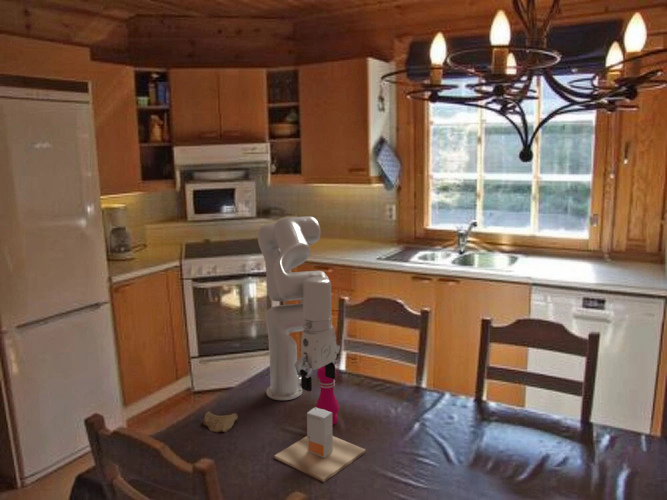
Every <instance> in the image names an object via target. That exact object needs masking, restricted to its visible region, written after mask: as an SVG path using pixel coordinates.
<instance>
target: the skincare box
mask: <svg viewBox="0 0 667 500" xmlns="http://www.w3.org/2000/svg"><path fill="white" fill-rule="evenodd" d="M333 431H334V430H333V425H332V412H329V411H326V410H324V409H319V408H316V406H315V407H313V408H311V409H310V410H309V411H308V412H306V433H307V434H306V436H307V447H308V452H310V453H313V454H315V455H318V456H321V457H323V458H326V457H327V456H328V455H329V454H330V453H331V452H333V436H334V435H333Z"/></svg>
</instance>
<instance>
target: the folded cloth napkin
mask: <svg viewBox="0 0 667 500" xmlns="http://www.w3.org/2000/svg"><path fill="white" fill-rule="evenodd" d="M366 452H367V450H366V448H363V447H360V446H358V445H356V444H353V443H351V442H348V441H346V440H344V439H341V438H339V437H336V436H334V435H333V452H331V453H330V454H329V455H328V456H327V457H326V458H323V457H321V456H318V455H315V454H313V453H310V452H308V447H307V435H306V436H304V437H303V438H301V439H300V440H297V441H296V442H294V443H293V444H291V445H290V446H288V447H287V448H284V449H282V451H279V452H277V453H276V454H274V459H276V460H278V461H279V462H282V463H284V464H286V465H288V466H290V467H292V468H294V469H296V470H298V471H300V472H302V473H304V474H306V475H308V476H310V477H312V478H315V479H316V480H319V481H321V482H322V483H325V482H326V481H327V480H329V479H330V478H331V477H334V476H335V475H336V474H338V473H339V472H340V471H342V470H343V469H344V468H346V467H347V466H348V465H350V464H351V463H353V462H354V461H355V460H357V459H358V458H360V457H361V456H363V455H364V454H366Z"/></svg>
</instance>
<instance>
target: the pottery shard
mask: <svg viewBox="0 0 667 500" xmlns="http://www.w3.org/2000/svg"><path fill="white" fill-rule="evenodd" d="M238 418H239V416H238V414H237V413H234V412H233V413H232V414H228V415H226V414H225V415H217V414H214V413H212V412H211V411H207V412H206V413H205V414H204V417H203V420H202V424H203V425H204V426H206V427H207V428H208V430H210V432H215V433H221V432H223V433H227V432H228V431H230V430H231V429H232V427H233V426H234V423H235V421H237V420H238Z"/></svg>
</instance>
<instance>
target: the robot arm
mask: <svg viewBox="0 0 667 500" xmlns="http://www.w3.org/2000/svg"><path fill="white" fill-rule="evenodd" d="M321 233H322V232H321V226H320V224H319V221H318V220H317V218H316V217H314V216H311V215H309V216H306V215H305V216H290V217H283V218H280V219H279V220H277V221H275V222H274V223H268V224H264V225H261V226H260V227H259V228H258V230H257V243H258V246H259V249H260V251H261V253H262V256H263V260H264V262H265V274H266V275H265V276H266V286H267V287H266V288H267V294H268V297H269V299H270V300H271V301H272V302H288V301H298V300H299V301H300V303H299V302H298V303H292V304H290V303H288V304H282V305H275V306H272V307H270V308H269V309H267V310H266V312H265V315H264V318H265V325H266V326H265V327H266V331H267V337H268V352H269V356H268V357H269V376H270V378H269V379H270V381H269V382H270V386H268V387H267V389H266V390H265V392H266V396H267V397H268V398H269V399H272V400H275V401H289V400H294V399H297V398H299V397H301V395H302V393H303V390H304V391H306V392H311V391H312V390H313V389H312V383H313V382H312V380H313V379H312V376H311V374H312V373H313V370H314V371H315V370H318V369H319V368H321V367H323V366H325V376H326V377H328V378H331V379H334V380H335V379H336V378H335V369H336V365H337V359H338V357H339V355H340V353H339V352H340V350H341V346H340V345H339V344H337V339H336V334H335V333H336V332H335V327H334V325H333V323H332V321H333V317H332V316H333V314H332V311H333V310H332V282H331V280H330V279H329V278H330V277H328V275H327V274H326V273H325V271H323V270H309V271H308V270H307V271H306V270H305V271H294V272H292V270H293V269H295V268H297V267H299V266H300V265H302V264H305V262H306V261H307V260H308V259H309V258H310V254H311V248H310V247H311V246H312V245H314V244H316V243H317V242H318V241H319V240H320V238H321ZM298 332H302V335H301V342H300V357H299V359H298V351H297V349H298V347H297V342H296V340H295V339H294V338H293V337H292V336H291V335H290V334H291V333H298ZM306 369H307V371H306ZM300 384H301V385H300Z"/></svg>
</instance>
